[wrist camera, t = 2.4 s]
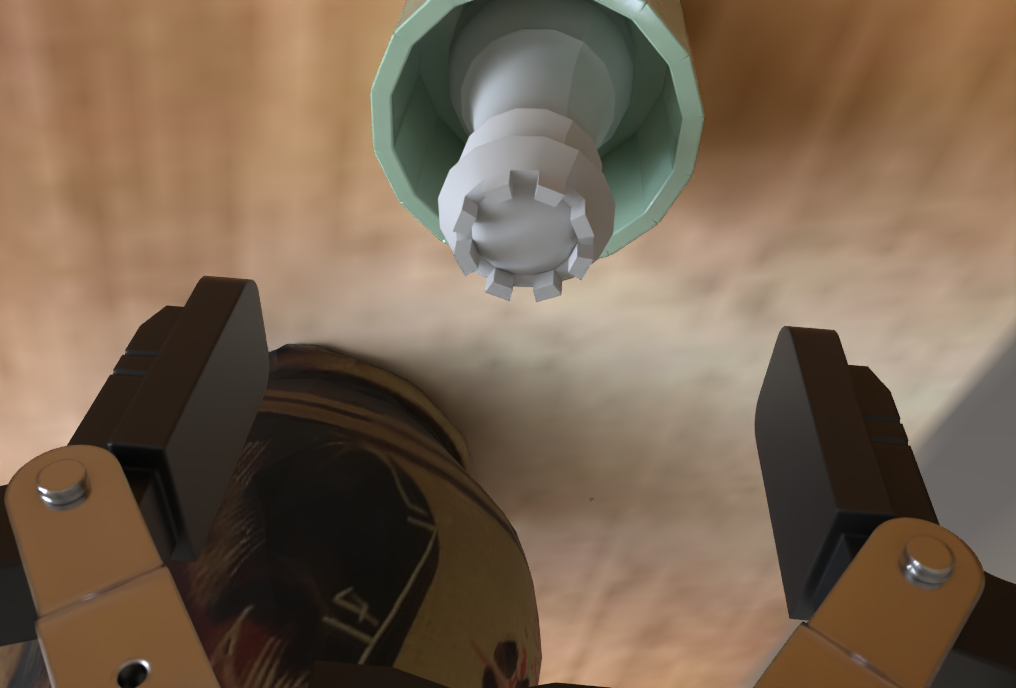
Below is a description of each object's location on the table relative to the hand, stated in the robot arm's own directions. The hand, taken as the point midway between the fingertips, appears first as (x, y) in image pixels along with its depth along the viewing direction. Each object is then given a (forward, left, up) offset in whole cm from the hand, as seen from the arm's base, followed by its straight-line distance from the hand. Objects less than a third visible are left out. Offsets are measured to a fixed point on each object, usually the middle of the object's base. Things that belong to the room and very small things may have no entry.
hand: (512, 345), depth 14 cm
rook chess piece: (0, 0, -11) cm, 11 cm away
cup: (0, 0, -11) cm, 11 cm away
